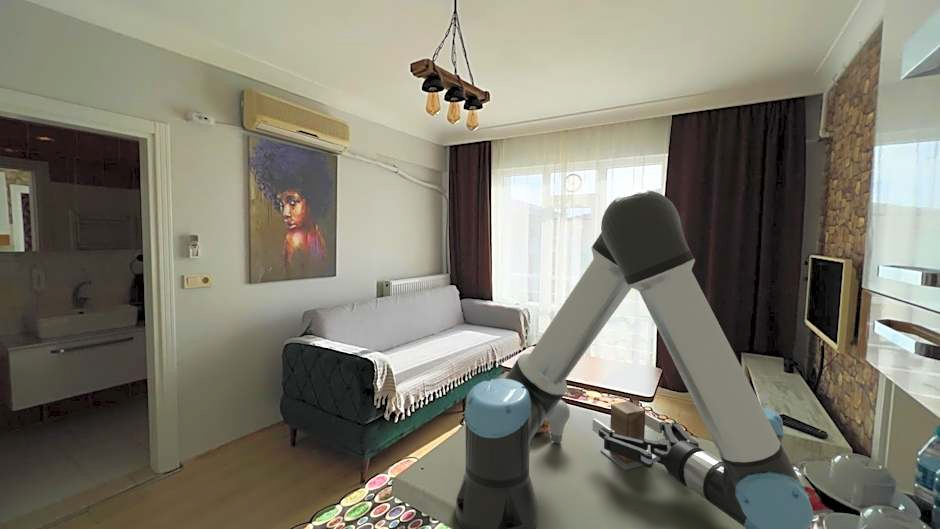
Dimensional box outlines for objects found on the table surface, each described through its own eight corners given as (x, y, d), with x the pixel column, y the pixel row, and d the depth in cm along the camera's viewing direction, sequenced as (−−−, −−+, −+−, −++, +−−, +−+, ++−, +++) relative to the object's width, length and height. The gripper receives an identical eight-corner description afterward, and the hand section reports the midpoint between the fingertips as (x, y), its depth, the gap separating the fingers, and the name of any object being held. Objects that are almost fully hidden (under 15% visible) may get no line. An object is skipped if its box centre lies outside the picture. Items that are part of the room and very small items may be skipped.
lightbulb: (567, 437, 99) (568, 395, 98) (570, 450, 93) (571, 405, 92) (542, 436, 99) (543, 394, 99) (545, 448, 93) (546, 404, 93)
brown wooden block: (625, 463, 86) (627, 413, 86) (609, 451, 91) (611, 404, 91) (643, 459, 88) (645, 410, 87) (627, 447, 93) (628, 401, 92)
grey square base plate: (624, 470, 85) (625, 437, 84) (600, 451, 92) (601, 421, 92) (652, 463, 87) (654, 431, 87) (627, 445, 95) (628, 416, 94)
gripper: (644, 503, 68) (573, 444, 88) (741, 474, 77) (656, 426, 97) (645, 462, 68) (573, 412, 88) (743, 438, 77) (657, 397, 96)
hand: (617, 419), depth 92 cm, fingers open, 13 cm apart
